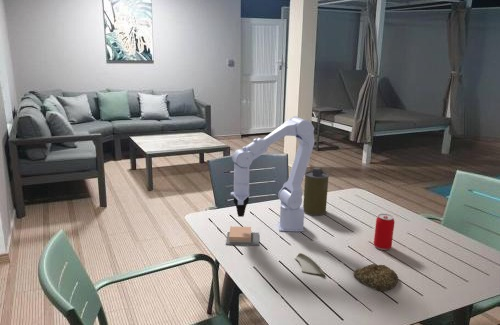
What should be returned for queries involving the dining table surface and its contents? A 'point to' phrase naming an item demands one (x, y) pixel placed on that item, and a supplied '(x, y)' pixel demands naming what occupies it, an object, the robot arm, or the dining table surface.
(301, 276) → the dining table surface
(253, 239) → the mat
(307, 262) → the ceramic fragment
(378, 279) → the mossy rock
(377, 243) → the beverage can
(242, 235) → the peach green flat block
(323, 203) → the canister
